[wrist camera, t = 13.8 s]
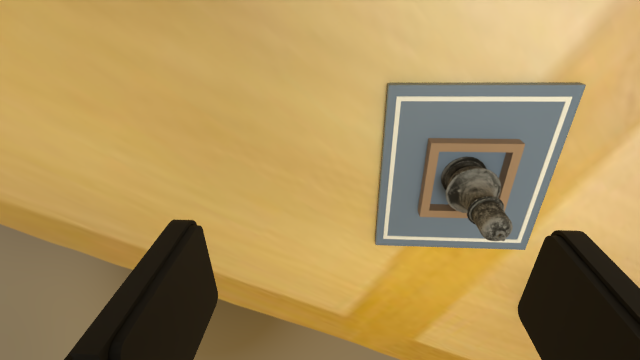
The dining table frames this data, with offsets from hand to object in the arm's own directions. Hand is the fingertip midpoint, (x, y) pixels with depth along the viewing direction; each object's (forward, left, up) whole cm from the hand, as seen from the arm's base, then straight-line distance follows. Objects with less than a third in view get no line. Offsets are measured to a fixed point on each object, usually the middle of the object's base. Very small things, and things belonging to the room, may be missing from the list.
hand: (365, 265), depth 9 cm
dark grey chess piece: (+13, +14, -30) cm, 35 cm away
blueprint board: (+13, +14, -30) cm, 36 cm away
